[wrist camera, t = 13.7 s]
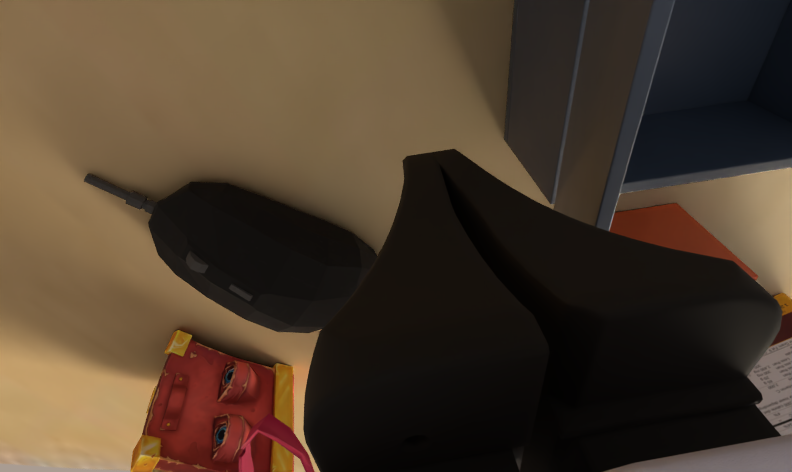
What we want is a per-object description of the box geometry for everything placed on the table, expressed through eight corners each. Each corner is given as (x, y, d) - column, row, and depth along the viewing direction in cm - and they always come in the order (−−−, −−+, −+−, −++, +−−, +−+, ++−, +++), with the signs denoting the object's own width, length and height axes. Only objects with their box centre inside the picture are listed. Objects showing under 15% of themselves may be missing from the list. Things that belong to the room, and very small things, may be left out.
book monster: (134, 388, 28) (215, 264, 24) (263, 415, 33) (352, 315, 28) (67, 589, 20) (171, 459, 15) (252, 590, 24) (377, 489, 20)
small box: (676, 202, 24) (759, 276, 20) (655, 254, 27) (724, 330, 22) (591, 215, 24) (654, 293, 20) (578, 267, 27) (631, 346, 22)
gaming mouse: (106, 116, 17) (60, 165, 14) (402, 250, 24) (413, 303, 21) (71, 224, 20) (26, 285, 17) (344, 318, 27) (346, 373, 24)
